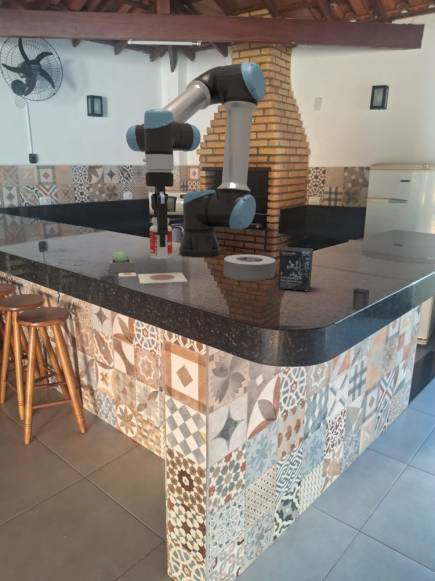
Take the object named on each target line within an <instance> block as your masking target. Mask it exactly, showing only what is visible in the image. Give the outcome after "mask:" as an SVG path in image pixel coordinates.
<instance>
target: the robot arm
mask: <svg viewBox="0 0 435 581" xmlns="http://www.w3.org/2000/svg"><path fill="white" fill-rule="evenodd" d="M266 86H267V84H266V78H265V74H264V72H263V70H262V68H261V67H260V65H259V64H258V63H257V62H252V61H251V62H244V61H243V62H241V63H240V62H239V63H234V64H227V65H220V66H219V65H218V66H214V67H212V68H210V69H208V70H206V71H205V72H203V73H201V74H199V75H198V76H197V77H195V78H194V79H193V80H191V81H190V82H189V83H188V84H187V85H186V87H185V90H184V91H183V92H181V93H180V94H178V96H176V97H175V98H174V99H172V100H171V101H170V102H168V104H166V105H164V107H162V108H161V109H160V108H159V109H157V108H155V109H154V108H152V109H147V110H146V111H145V112H144V115H143V116H144V117H143V123H142V124H135V125H131V126H129V128H127V130H126V134H125V139H126V140H125V141H126V143H127V145H128V147H129V149H130V150H132V151H134V152H140V153H144V157H143V158H142V163H145V164H144V166H145V167H144V168H145V171H146V173H145V186H146V187H149V188H151V187H152V188H154V193H151V198H152V208H153V218H154V217H157V230H158V232H155V235H157V259H156V260H164V259H165V260H167V259H169V258H168V257H167V233H168V225H169V223H168V218H169V217H168V200H169V194H168V193H166V188H167V187H168V188H170V187H171V188H172V187H174V186H175V185H174V180H175V179H174V178H175V177H174V173H173V172H172V171H174V169H175V168H174V165H175V164H174V163H175V162H174V152H178V151H179V152H186V153H187V152H193V151H195V150H197V149H198V147H199V146H200V143H201V139H202V138H201V136H202V135H201V132H200V129H199V128H198V127H197V126H195V125H193V124H191V123H189V122H187V121H188V120H189V119H190V118H192V117H193V116H194V115H195V114H197V112H199V111H200V110H205V109H207V108H208V107H210V106H213V105H219V104H220V105H221V104H222V106H223V108H224V109H225V111H226V119H225V120H226V121H225V122H226V124H225V135H224V136H225V137H224V150H223V160H222V161H223V164H222V174H221V175H222V177H221V184H220V185H219V186H218V187H217V188H216V190H215V189H207V190H197V191H196V190H195V191H189V192H186V193H184V195H183V202H182V208H183V211H182V212H183V213H182V214H183V235H182V239H181V241H180V244H179V249H178V253H179V255H180V256H183V257H187V258H212V257H213V258H214V257H217V256H220V255H221V254H220V253H221V252H220V251H221V248H220V245H219V242H218V239H217V236H216V228H221V229H231V230H237V229H238V230H243V229H244V230H245V229H246V228H248V227H249V226H250V225H251V224H252V222H253V220H254V218H255V215H256V209H257V204H256V199H255V197H254V196H253V195H251V191H252V190H251V189H250V188H249V186H248V171H249V162H250V160H249V158H250V146H251V136H252V135H251V134H252V122H253V121H252V120H253V113H254V112H255V111H256V110H257V109H258V104H259V102H260V101H262V100H263V99H264V98H265V96H266V91H267V90H266V89H267V87H266Z"/></svg>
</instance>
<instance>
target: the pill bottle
mask: <svg viewBox="0 0 435 581" xmlns="http://www.w3.org/2000/svg"><path fill="white" fill-rule="evenodd" d="M151 223H152V225H151V226H150V227H149V255H150V258H152V259H156V260H158V259H157V235H155V232H158V230H157V217H154V216H153V217H151ZM169 224H170V218H169V217H168V233H167V257H168V259H171V258H172V257H173V228H172V227H171V225H169Z"/></svg>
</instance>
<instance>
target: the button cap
mask: <svg viewBox="0 0 435 581" xmlns="http://www.w3.org/2000/svg"><path fill="white" fill-rule="evenodd" d="M113 256H114V257H113V258H114V261H115V263H123V262H128V259H129V257H128V256H129V255H128V251H126V250H123V251H122V250H121V251H114V252H113Z"/></svg>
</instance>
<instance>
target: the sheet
mask: <svg viewBox="0 0 435 581" xmlns="http://www.w3.org/2000/svg"><path fill="white" fill-rule="evenodd" d="M137 276H138V278H137V279H138V280H139V284H140V285H149V284H170V283H188V280H187V278H186V277H185V275H184V274H183V272H164V273H163V272H162V273H161V272H160V273H159V272H158V273H141V274H140V273H139V274H137Z"/></svg>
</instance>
